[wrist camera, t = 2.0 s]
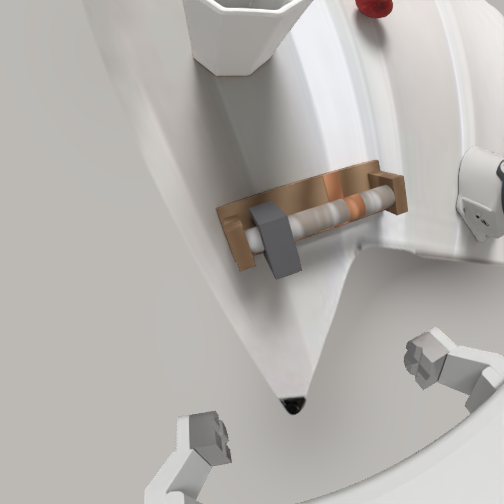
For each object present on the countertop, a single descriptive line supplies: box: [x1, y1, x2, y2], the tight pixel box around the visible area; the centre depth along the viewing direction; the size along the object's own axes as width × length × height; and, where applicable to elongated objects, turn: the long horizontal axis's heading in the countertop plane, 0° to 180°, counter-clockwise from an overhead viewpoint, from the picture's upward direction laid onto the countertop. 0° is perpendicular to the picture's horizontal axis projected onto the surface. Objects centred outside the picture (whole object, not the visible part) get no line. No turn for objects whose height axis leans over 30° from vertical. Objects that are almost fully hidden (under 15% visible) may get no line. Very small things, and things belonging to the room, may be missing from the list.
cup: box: [183, 0, 313, 76], centre depth 20 cm, size 11×11×18 cm
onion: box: [355, 0, 393, 18], centre depth 24 cm, size 6×6×8 cm
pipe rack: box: [216, 160, 408, 271], centre depth 35 cm, size 25×8×8 cm, turn 108°
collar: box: [249, 201, 302, 280], centre depth 32 cm, size 3×6×8 cm, turn 17°
